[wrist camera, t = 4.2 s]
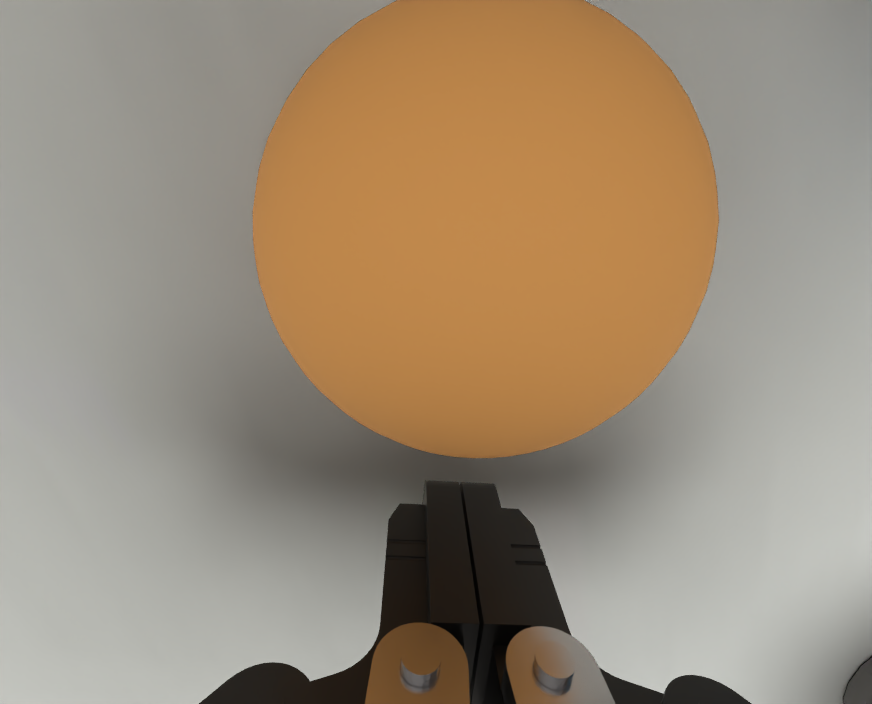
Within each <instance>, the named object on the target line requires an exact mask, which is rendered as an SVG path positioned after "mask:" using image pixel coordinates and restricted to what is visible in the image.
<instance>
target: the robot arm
mask: <svg viewBox="0 0 872 704" xmlns="http://www.w3.org/2000/svg"><path fill="white" fill-rule="evenodd" d="M199 704H751V703H750V702H748V701H747V700H746V699H744V698H743V697H742V696H740V695H739V694H737V693H736V692H735V691H733V690H732V689H730V688H728V687H727V686H725V685H723V684H721V683H719V682H717V681H714V680H712V679H709V678H706V677H702V676H696V675H685V676H681V677H678V678H676V679H674V680H672V681H671V682H670V683H669V684H668V686H667V688H666V690H665V693H664V694H663V693H660V692H657V691H654V690H651V689H648V688H645V687H642V686H639V685H636V684H633V683H630V682H627V681H624V680H622V679H619V678H617V677H614V676H612V675H611V674H609V673H607V672H605V671H604V670H602V669H601V668H599V666H598V664H597V663H596V661H595V659H594V657H593V656H592V655H591V653H590V652H589V651H588V649H587V648H586V647H585V646H584V645H583V644H582V643H580V642H579V641H578V640H577V639H575V638H574V637H572V636H571V633H570V631H569V628H568V625H567V622H566V619H565V617H564V614H563V611H562V608H561V605H560V602H559V599H558V596H557V593H556V590H555V587H554V584H553V581H552V579H551V576H550V573H549V570H548V567H547V566H546V561H545V558H544V555H543V552H542V549H540V543H539V541H538V538H537V535H536V532H535V529H534V526H533V525H532V524H531V523H530V521H529V520H528V519H527V518H526V517H525V516H524V515H523V514H522V513H521V511H520V510H519V509H507V508H501V506H500V502H499V498H498V494H497V490H496V487H495V485H494V484H486V483H467V482H461V483H460V485H459V482H445V481H425V485H424V495H423V505H420V504H399V506H398V507H397V509H396V510H395V511H394V513H393V514H392V516H391V517H390V518H389V523H388V535H387V548H386V560H385V572H384V585H383V597H382V610H381V622H380V630H379V634H378V637H377V640H376V641H375V643H374V645H373V647H372V648H371V650H370V651H369V652H368V654H367V655H366V656H365V657H363V658H362V659H361V660H360V661H359V662H358V663H356V664H355V665H354V666H352V667H350V668H348V669H346V670H344V671H342V672H339V673H336V674H333V675H330V676H327V677H324V678H320V679H317V680H314V681H309V679H308V678H307V677H306V676H305V675H304V674H303V673H302V672H301V671H299V670H298V669H297V668H295V667H292V666H290V665H287V664H283V663H263V664H259V665H255V666H252V667H249V668H247V669H245V670H243V671H241V672H239V673H237V674H236V675H234V676H233V677H231V678H230V679H229V680H227V681H226V682H225V683H224V684H222V685H221V686H220V687H219V688H218V689H216V690H215V691H214V692H213V693H211V694H210V695H209V696H208V697H207V698H205V699H204V700H203V701H202V702H201V703H199Z"/></svg>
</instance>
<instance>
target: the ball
mask: <svg viewBox="0 0 872 704" xmlns="http://www.w3.org/2000/svg"><path fill="white" fill-rule="evenodd" d="M718 223H719V215H718V196H717V185H716V177H715V170H714V166H713V162H712V157H711V153H710V148H709V144H708V141H707V139H706V136H705V134H704V131H703V129H702V126H701V124H700V122H699V119H698V117H697V114H696V112H695V110H694V108H693V106H692V103H691V101H690V99H689V97H688V96H687V94H686V92H685V91H684V89H683V88H682V86H681V85H680V83H679V81H678V80H677V78H676V77H675V75H674V74H673V72H672V70H671V69H670V68H669V67H668V66H667V65H666V64H665V63H664V62H663V60H662V59H661V58H660V57H659V56H658V55H657V54H656V53H655V52H654V51H653V50H652V48H651V47H650V46H649V45H648V44H647V43H646V42H645V41H644V40H643V39H642V38H640V37H639V36H638V35H637V34H636V33H635V32H633V31H632V30H631V29H629V28H628V27H627V26H625V25H624V24H623V23H621V22H620V21H619V20H617V19H616V18H615V17H614V16H612V15H611V14H609V13H607V12H605V11H604V10H602V9H600V8H598V7H596V6H594V5H592V4H590V3H588V2H586V1H584V0H397V1H395V2H393V3H391V4H389V5H388V6H386V7H384V8H382V9H380V10H379V11H377V12H375V13H373V14H371V15H370V16H368V17H366V18H364V19H363V20H361V21H359V22H358V23H357V24H355V25H354V26H353V27H351V28H350V29H349V30H348V31H346V32H345V33H344V34H343V35H341V36H340V37H339V38H337V39H336V40H335V41H334V42H332V43H331V44H330V45H329V46H328V47H327V48H326V49H325V51H324V52H323V53H322V54H321V55H320V56H319V57H318V58H317V59H316V60H315V61H314V62H313V63H312V64H311V66H310V67H309V68H308V69H307V70H306V72H305V73H304V74H303V76H302V77H301V79H300V80H299V82H298V83H297V85H296V86H295V88H294V89H293V91H292V92H291V94H290V95H289V97H288V98H287V100H286V102H285V104H284V106H283V107H282V109H281V112H280V114H279V116H278V118H277V120H276V122H275V124H274V126H273V128H272V131H271V133H270V135H269V137H268V140H267V143H266V146H265V150H264V153H263V157H262V160H261V163H260V167H259V172H258V178H257V184H256V192H255V199H254V206H253V243H254V252H255V260H256V266H257V272H258V278H259V283H260V286H261V289H262V292H263V295H264V298H265V301H266V305H267V307H268V310H269V313H270V315H271V318H272V321H273V323H274V325H275V327H276V329H277V331H278V333H279V335H280V337H281V339H282V341H283V343H284V344H285V346H286V347H287V349H288V350H289V352H290V353H291V355H292V356H293V358H294V359H295V361H296V362H297V364H298V365H299V367H300V368H301V370H302V371H303V372H304V374H305V375H306V376H307V377H308V378H309V380H310V381H311V382H312V383H313V384H314V385H315V386H316V388H317V389H318V390H319V391H320V392H322V393H323V394H324V395H325V396H326V397H327V398H328V399H329V400H330V401H332V402H333V403H334V404H335V405H336V406H337V407H339V408H340V409H341V410H342V411H343V412H344V413H346V414H347V415H349V416H350V417H351V418H353V419H354V420H356V421H357V422H358V423H360V424H362V425H363V426H365V427H367V428H369V429H370V430H372V431H374V432H376V433H378V434H380V435H382V436H385V437H387V438H389V439H392V440H394V441H396V442H398V443H401V444H403V445H406V446H409V447H412V448H415V449H418V450H421V451H425V452H430V453H434V454H438V455H445V456H452V457H462V458H497V457H509V456H515V455H521V454H527V453H531V452H535V451H539V450H543V449H547V448H550V447H553V446H556V445H559V444H562V443H564V442H567V441H569V440H571V439H574V438H576V437H578V436H580V435H582V434H584V433H586V432H588V431H590V430H592V429H593V428H595V427H597V426H598V425H600V424H601V423H603V422H604V421H606V420H607V419H609V418H610V417H612V416H613V415H615V414H616V413H618V412H619V411H621V410H622V409H624V408H625V407H626V406H627V405H628V404H630V403H631V402H632V401H633V400H635V399H636V398H637V397H638V396H639V395H640V394H641V393H642V392H643V391H644V390H645V389H646V388H647V387H648V386H649V385H650V384H651V383H652V382H653V381H654V380H655V379H656V377H657V376H658V375H659V374H660V372H661V371H662V370H663V369H664V367H665V366H666V365H667V363H668V362H669V361H670V360H671V358H672V357H673V356H674V355H675V353H676V352H677V351H678V349H679V347H680V346H681V344H682V342H683V341H684V339H685V337H686V335H687V334H688V332H689V330H690V328H691V326H692V323H693V321H694V319H695V317H696V314H697V312H698V310H699V307H700V305H701V303H702V300H703V298H704V296H705V293H706V291H707V287H708V283H709V279H710V275H711V272H712V268H713V263H714V256H715V250H716V242H717V232H718Z"/></svg>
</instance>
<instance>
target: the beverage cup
mask: <svg viewBox="0 0 872 704" xmlns="http://www.w3.org/2000/svg"><path fill="white" fill-rule="evenodd" d="M843 699H844V704H872V658H870V659H869V660H868V661H867V662H866V663H864V664H863V665H862V666H861V667H860V668H859V670H858V671H857V672H856V674H855V675H854V676H853V678H852V679H851V680H850V682H849V684H848V687H847V689H846V692H845V695H844V698H843Z"/></svg>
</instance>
